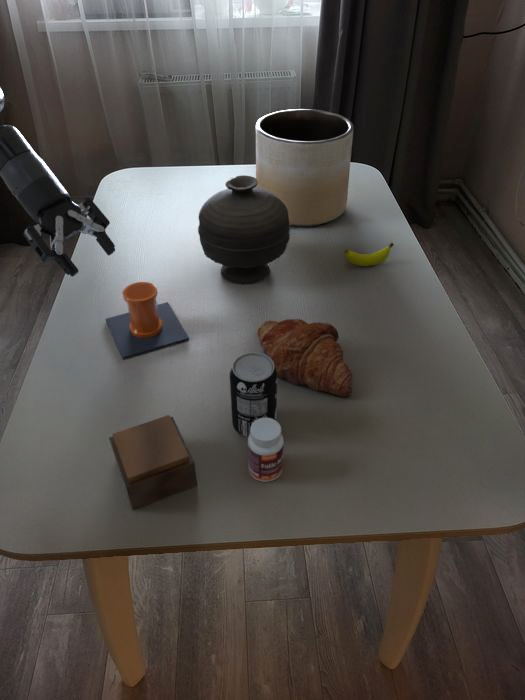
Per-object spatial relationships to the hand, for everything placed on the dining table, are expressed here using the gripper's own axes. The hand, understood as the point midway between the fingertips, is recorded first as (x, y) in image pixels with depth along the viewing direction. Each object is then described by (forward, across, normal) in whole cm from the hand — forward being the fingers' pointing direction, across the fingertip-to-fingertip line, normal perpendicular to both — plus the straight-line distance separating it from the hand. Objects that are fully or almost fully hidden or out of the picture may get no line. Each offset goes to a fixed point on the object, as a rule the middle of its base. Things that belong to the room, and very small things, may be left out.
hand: (94, 263), depth 98 cm
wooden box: (+31, -22, -16) cm, 41 cm away
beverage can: (+36, -8, -20) cm, 42 cm away
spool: (+14, 0, 0) cm, 14 cm away
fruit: (+31, +42, -16) cm, 55 cm away
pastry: (+35, +8, -20) cm, 41 cm away
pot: (+17, +26, -2) cm, 31 cm away
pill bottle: (+40, -13, -25) cm, 49 cm away
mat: (+15, 0, 0) cm, 15 cm away
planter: (+13, +57, +1) cm, 58 cm away
